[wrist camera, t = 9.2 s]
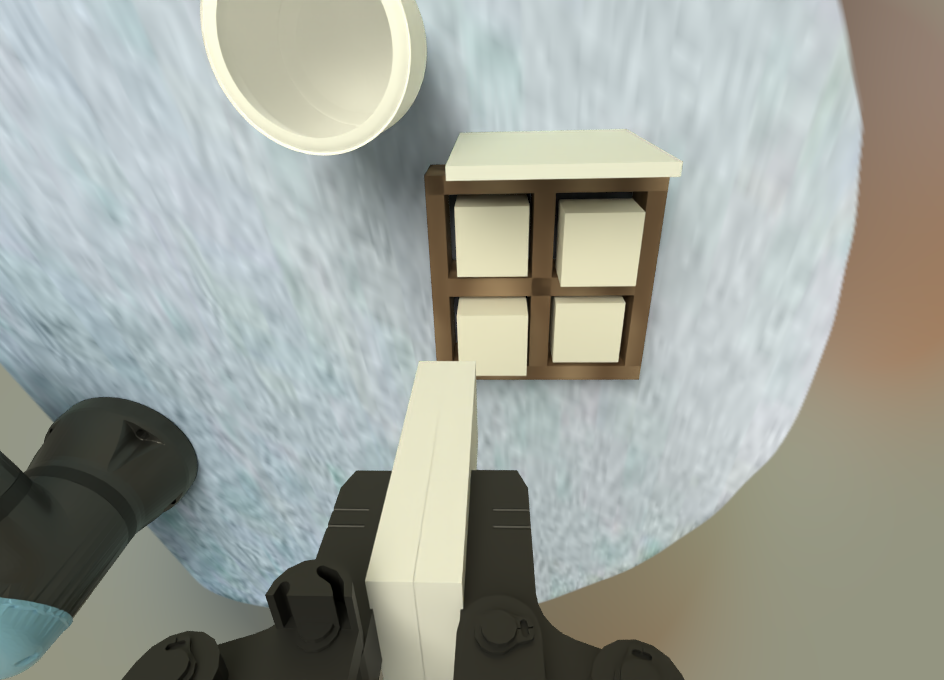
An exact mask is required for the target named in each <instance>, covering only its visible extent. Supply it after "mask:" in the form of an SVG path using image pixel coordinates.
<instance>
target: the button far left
mask: <svg viewBox="0 0 944 680" xmlns="http://www.w3.org/2000/svg"><path fill="white" fill-rule="evenodd" d="M457 333H458V356H459V361H476V376H526V371H527V337H528V310H527V303H526V296H477V297H459V304H458V311H457Z"/></svg>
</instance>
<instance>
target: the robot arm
mask: <svg viewBox="0 0 944 680" xmlns="http://www.w3.org/2000/svg"><path fill="white" fill-rule="evenodd" d="M477 448H478V431H477V391H476V361H419V364H418V368H417V372H416V376H415V380H414V384H413V388H412V392H411V396H410V401H409V405H408V409H407V413H406V417H405V421H404V425H403V429H402V433H401V437H400V441H399V445H398V449H397V453H396V457H395V461H394V465H393V470H392V471H356V472H355V473H354V474H353V475H352V476H351V477H350V478H349V479H348V480H347V482H346V483H345V484H344V485H343V486H342V487H341V489H340V492H339V495H338V498H337V500H336V503H335V506H334V511H333V512H332V515H331V517H330V520H329V523H328V528H327V529H326V531H325V534H324V537H323V540H322V543H321V546H320V548H319V551H318V554H317V557H316V559H315V560H308V561H304V562H301V563H299V564H297V565H295V566H293V567H291V568H288V569H287V570H286V571H285V572H284V573H283V574H281V575H280V576H279V577H278V578H277V579H276V580H275V581H274V582H273V584H272V585H271V587H270V588H269V590H268V592H267V593H266V595H265V596H266V599H267V602H268V605H269V608H270V611H271V614H272V617H273V620H274V623H275V625H273V626H272V627H270V628H269V629H266V630H263V631H261V632H258V633H256V634H253V635H249V636H246V637H243V638H239V639H236V640H232V641H229V642H226V643H222V644H219V645H217V644H216V641H215V639H213V638H212V637H210V636H209V635H207V634H206V633H204V632H194V631H186V632H183V633H179V634H176V635H172V636H169V637H168V638H166V639H164V640H163V641H161V642H159V643H158V644H156V645H154V646H153V647H151V649H149V650H148V651H147V652H146V653H145V654H144V655H143V656H142V657H141V658H140V659H139V660H138V661H137V662H136V663H135V664H134V665H133V666H132V668H131V669H130V670H129V671H128V673H127V674H126V675H125V676H124V677H123V679H122V680H379V675H380V670H381V669H382V674H383V679H384V680H684V678H683V676H682V674H681V673H680V672H679V670H678V669H677V668H676V666H675V665H674V664H673V662H672V661H671V660H670V658H669V657H667V656H666V655H665V654H663V653H662V652H661V651H659V650H658V649H657V648H655V647H654V646H652V645H649V644H647V643H644V642H641V641H638V640H617V641H615V642H613V643H611V644H609V645H607V646H605V647H604V648H603V649H599V648H597V647H594V646H591V645H588V644H586V643H583V642H580V641H577V640H575V639H573V638H571V637H569V636H567V635H564V634H562V633H561V632H560V631H558V630H557V629H556V628H555V627H554V626H552V625H551V624H550V622H549V621H548V620H547V619H546V618H545V616H544V615H543V613H542V611H541V609H540V607H539V605H538V601H537V596H536V589H535V576H534V563H533V550H532V536H531V523H530V512H529V497H528V487H527V486H526V484H525V483H524V481H523V479H522V478H521V476H520V475H519V473H518V471H517V470H477ZM196 474H197V459H196V455H195V452H194V450H193V448H192V446H191V444H190V442H189V441H188V439H187V438H186V436H185V435H184V434H183V433H182V432H181V431H180V429H178V428H177V427H176V426H175V425H174V424H173V423H172V422H171V421H169V420H168V419H167V418H165V417H164V416H163V415H161V414H159V413H158V412H156V411H154V410H152V409H150V408H148V407H146V406H144V405H141V404H139V403H136V402H133V401H129V400H125V399H120V398H111V397H99V398H91V399H87V400H84V401H81V402H79V403H77V404H75V405H74V406H72V407H71V408H70V409H68V410H67V411H66V412H65V413H64V414H63V415H61V416H60V417H59V418H58V419H57V420H56V421H55V422H54V423H53V424H52V425H51V427H50V428H49V430H48V432H47V434H46V436H45V440H44V444H43V445H42V447H41V448H40V449H39V450H38V452H37V453H36V455H35V457H34V458H33V460H32V462H31V463H30V465H29V467H28V469H27V470H26V471H25V472H24V473H23V472H22V471H21V470H20V469H19V468H18V467H17V466H16V465H15V464H14V463H13V462H12V461H11V460H10V459H8V458H7V457H6V456H5V455H4V454H3V453H2V452H1V451H0V680H1V679H6V678H9V677H12V676H15V675H18V674H20V673H22V672H24V671H25V670H27V669H29V668H30V667H31V666H33V665H34V664H35V663H36V662H37V661H38V660H39V659H40V658H41V657H42V656H43V654H45V652H46V651H47V650H48V649H49V648H50V647H51V645H52V644H53V643H54V642H55V641H56V639H57V638H58V637H59V636H60V635H61V634H62V632H63V631H65V630H66V629H67V628H68V627H69V626H70V625H71V624H72V622H73V618H74V616H75V615H76V614H77V612H78V611H79V610H80V608H81V607H82V605H83V604H84V603H85V602H86V600H87V599H88V598H89V596H90V595H91V593H92V592H93V590H94V589H95V588H96V587H97V585H98V584H99V583H100V581H101V580H102V578H103V577H104V576H105V574H106V573H107V572H108V570H109V569H110V568H111V566H112V565H113V564H114V562H115V561H116V559H117V558H118V557H119V555H120V554H121V553H122V551H123V550H124V549H125V547H126V546H127V544H128V543H129V542H130V540H131V539H132V538H133V537H134V535H135V534H136V533H137V532H138V531H140V530H141V529H142V528H144V527H145V526H147V525H148V524H150V523H151V522H152V521H154V520H155V519H156V518H157V517H159V516H160V515H161V514H162V513H163V512H165V511H167V510H169V509H170V508H172V507H173V506H174V505H176V504H177V503H178V502H179V501H180V500H181V499H182V498H183V496H184V495H185V494H186V492H187V491H188V489H189V488H190V487H191V485H192V484H193V482H194V480H195V478H196Z"/></svg>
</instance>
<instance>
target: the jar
mask: <svg viewBox="0 0 944 680" xmlns="http://www.w3.org/2000/svg"><path fill="white" fill-rule="evenodd" d="M200 17H201V29H202V35H203V41H204V45H205V49H206V53H207V56H208V59H209V62H210V65H211V67H212V70H213V72H214V74H215V76H216V78H217V80H218V82H219V84H220V86H221V88H222V90H223V91H224V93H225V94H226V96H227V97H228V99H229V100H230V102H231V103H232V104H233V106H234V107H235V108H236V109H237V111H238V112H239V113H240V114H241V115H242V116H243V117H244V118H245V119H246V120H247V121H248V122H249V123H250V124H251V125H252V126H253V127H254V128H256V129H257V130H258V131H259V132H261V133H262V134H263V135H265V136H266V137H268V138H269V139H271V140H273V141H274V142H276V143H278V144H280V145H282V146H284V147H287V148H289V149H292V150H295V151H298V152H302V153H306V154H313V155H336V154H341V153H346V152H349V151H352V150H355V149H357V148H359V147H361V146H363V145H365V144H367V143H368V142H370V141H371V140H373V139H374V138H375V137H376V136H378V135H379V134H380V133H382V132H384V131H386V130H387V129H389V128H390V127H391V126H393V125H394V124H395V123H396V122H398V121H399V120H400V119H401V118H402V117H403V116H404V115H405V113H406V112H407V111H408V110H409V108H410V107H411V105H412V104H413V102H414V100H415V99H416V97H417V95H418V92H419V90H420V87H421V85H422V81H423V78H424V74H425V68H426V59H427V44H426V35H425V29H424V25H423V21H422V17H421V14H420V11H419V8H418V6H417V4H416V1H415V0H201V5H200Z"/></svg>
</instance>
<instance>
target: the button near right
mask: <svg viewBox="0 0 944 680" xmlns="http://www.w3.org/2000/svg"><path fill="white" fill-rule="evenodd" d="M645 213H646V212H645V211H644V210H643V209H642V208H641V207H640V206H639V205H638V204H637V203H636V202H635V201H634V199H633V198H622V199H559V211H558V229H557V247H556V266H555V268H556V272H557V275H558V279H559V282H560V286H561V287H590V286H636V279H637V272H638V264H639V257H640V250H641V242H642V235H643V228H644V220H645Z"/></svg>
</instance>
